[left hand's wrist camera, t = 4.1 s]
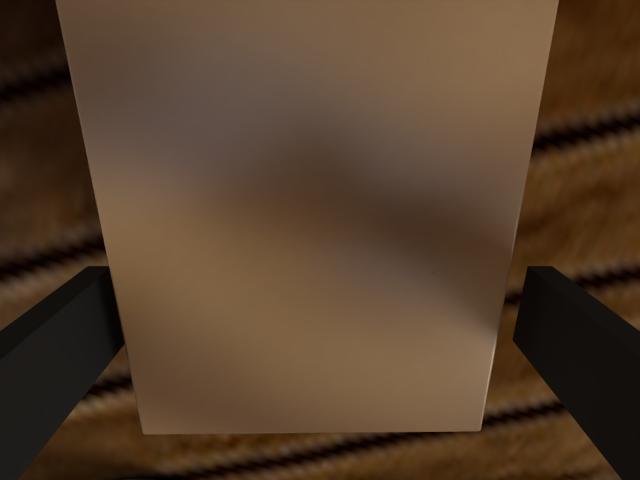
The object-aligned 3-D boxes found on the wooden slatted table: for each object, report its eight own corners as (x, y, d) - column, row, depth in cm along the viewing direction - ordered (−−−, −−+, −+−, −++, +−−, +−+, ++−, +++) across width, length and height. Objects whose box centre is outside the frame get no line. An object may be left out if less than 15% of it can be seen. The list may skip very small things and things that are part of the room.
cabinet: (179, -95, 16) (-26, -386, 6) (441, -93, 16) (629, -376, 7) (217, 288, 22) (141, 436, 12) (408, 287, 22) (481, 432, 12)
